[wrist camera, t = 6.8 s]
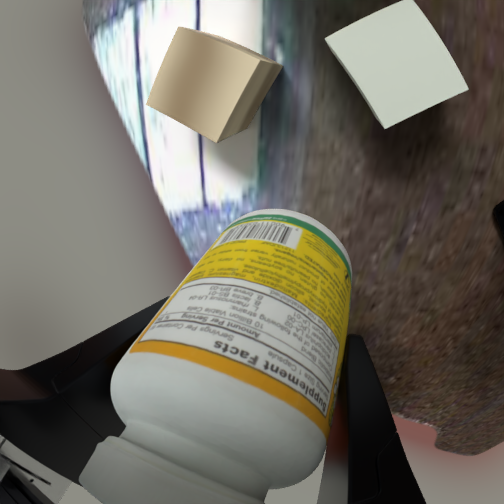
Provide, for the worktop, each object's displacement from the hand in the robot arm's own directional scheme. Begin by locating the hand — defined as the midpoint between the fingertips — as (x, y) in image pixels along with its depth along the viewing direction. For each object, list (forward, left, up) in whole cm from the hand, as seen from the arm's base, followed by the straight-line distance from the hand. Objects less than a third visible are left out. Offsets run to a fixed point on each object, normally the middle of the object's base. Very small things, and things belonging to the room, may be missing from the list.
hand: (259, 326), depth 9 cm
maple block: (+9, -1, -13) cm, 16 cm away
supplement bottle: (0, 0, -3) cm, 3 cm away
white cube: (+3, -9, -13) cm, 16 cm away
